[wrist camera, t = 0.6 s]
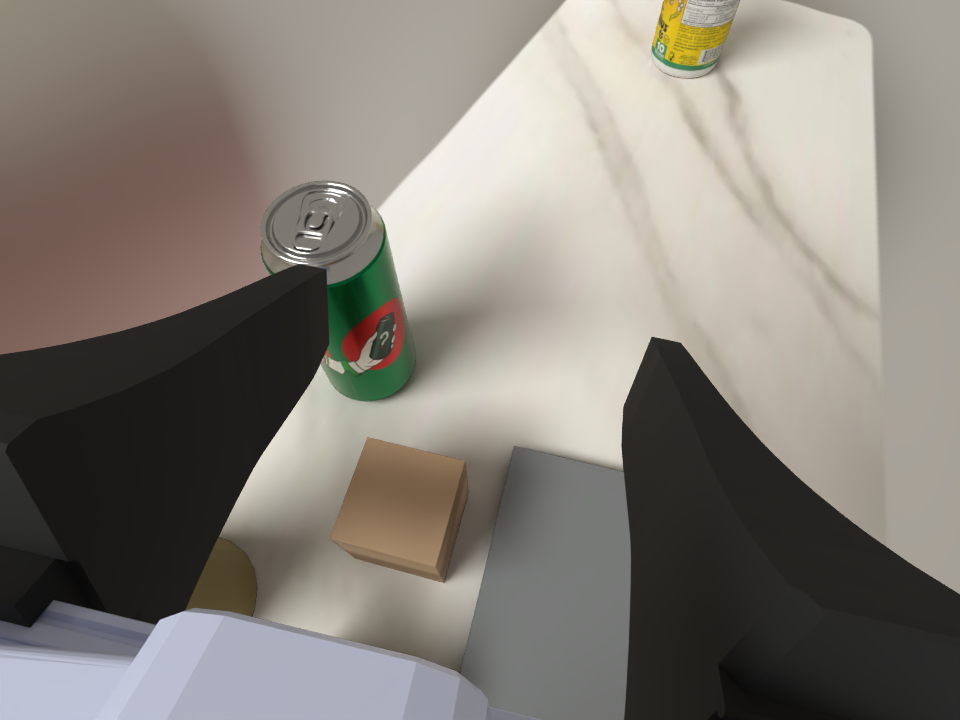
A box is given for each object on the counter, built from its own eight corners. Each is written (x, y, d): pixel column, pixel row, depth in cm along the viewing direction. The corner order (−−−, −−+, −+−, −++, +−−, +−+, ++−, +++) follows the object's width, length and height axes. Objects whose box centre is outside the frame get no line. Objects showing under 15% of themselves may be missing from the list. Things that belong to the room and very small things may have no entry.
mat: (739, 795, 22) (745, 798, 22) (452, 707, 24) (451, 708, 23) (747, 505, 28) (752, 502, 27) (513, 449, 29) (514, 445, 29)
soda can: (425, 334, 33) (394, 179, 22) (405, 411, 31) (362, 279, 20) (343, 323, 33) (275, 167, 23) (317, 398, 31) (229, 262, 20)
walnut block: (444, 582, 26) (435, 566, 22) (355, 558, 27) (329, 538, 23) (468, 492, 28) (464, 460, 24) (385, 471, 29) (367, 437, 25)
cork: (256, 525, 28) (133, 450, 18) (257, 659, 25) (110, 657, 15) (132, 549, 27) (-64, 487, 18) (118, 690, 24) (-125, 707, 15)
